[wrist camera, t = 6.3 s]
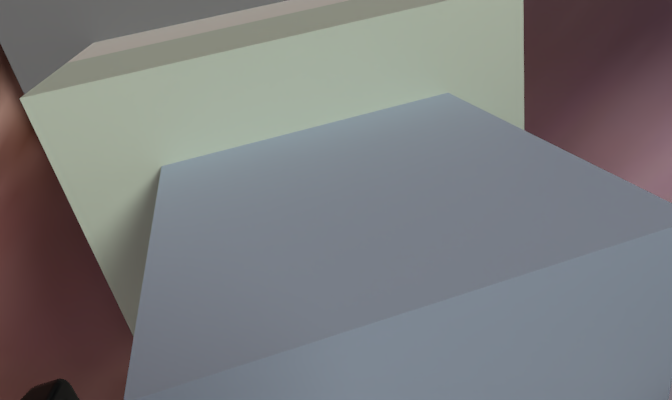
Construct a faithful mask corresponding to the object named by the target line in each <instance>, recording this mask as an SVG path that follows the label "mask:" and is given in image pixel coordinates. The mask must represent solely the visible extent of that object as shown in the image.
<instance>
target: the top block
mask: <svg viewBox="0 0 672 400" xmlns="http://www.w3.org/2000/svg"><path fill="white" fill-rule="evenodd" d="M671 382H672V203H670V202H668V201H666V200H664V199H662V198H660V197H658V196H656V195H654V194H652V193H650V192H648V191H646V190H644V189H642V188H640V187H638V186H636V185H634V184H632V183H630V182H628V181H626V180H624V179H622V178H620V177H618V176H616V175H613V174H611V173H609V172H607V171H605V170H603V169H601V168H599V167H597V166H595V165H593V164H591V163H589V162H587V161H585V160H583V159H581V158H579V157H577V156H575V155H573V154H571V153H569V152H567V151H565V150H563V149H561V148H559V147H557V146H555V145H553V144H551V143H549V142H547V141H545V140H543V139H541V138H539V137H537V136H535V135H533V134H531V133H529V132H527V131H525V130H523V129H521V128H519V127H517V126H514V125H512V124H510V123H508V122H506V121H504V120H502V119H500V118H498V117H496V116H494V115H492V114H490V113H488V112H486V111H484V110H482V109H480V108H478V107H476V106H474V105H472V104H470V103H468V102H466V101H464V100H462V99H460V98H458V97H456V96H454V95H452V94H450V93H445V94H441V95H437V96H433V97H429V98H425V99H421V100H417V101H414V102H410V103H406V104H402V105H398V106H394V107H390V108H386V109H382V110H378V111H375V112H371V113H367V114H363V115H359V116H355V117H351V118H347V119H343V120H339V121H336V122H332V123H328V124H324V125H320V126H316V127H312V128H308V129H304V130H301V131H297V132H293V133H289V134H285V135H281V136H277V137H273V138H269V139H265V140H262V141H258V142H254V143H250V144H246V145H242V146H238V147H234V148H230V149H226V150H223V151H219V152H215V153H211V154H207V155H203V156H199V157H195V158H191V159H187V160H184V161H180V162H176V163H172V164H168V165H164V166H161V173H160V179H159V185H158V191H157V197H156V203H155V209H154V216H153V222H152V228H151V234H150V240H149V246H148V252H147V259H146V265H145V271H144V277H143V283H142V289H141V295H140V302H139V308H138V314H137V320H136V326H135V332H134V338H133V345H132V351H131V357H130V363H129V369H128V375H127V381H126V388H125V394H124V400H668V399H669V393H670V388H671Z"/></svg>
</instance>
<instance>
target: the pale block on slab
mask: <svg viewBox="0 0 672 400" xmlns="http://www.w3.org/2000/svg"><path fill="white" fill-rule="evenodd" d="M0 44H1V46H2V48H3V50H4V52H5V54H6V56H7V59H8V61H9V63H10V65H11V67H12V69H13V71H14V73H15V76H16V78H17V80H18V82H19V84H20V86H21V88H22V90H23V92H24V95H23V96H22V97H21V98H19V99H20V101H21V103H22V105H23V107H24V109H25V111H26V113H27V115H28V117H29V120H30V122H31V124H32V126H33V128H34V130H35V132H36V134H37V136H38V138H39V140H40V143H41V145H42V147H43V149H44V151H45V153H46V155H47V157H48V159H49V161H50V163H51V166H52V168H53V170H54V172H55V174H56V176H57V178H58V180H59V182H60V184H61V186H62V189H63V191H64V193H65V195H66V197H67V199H68V201H69V203H70V205H71V207H72V209H73V211H74V214H75V216H76V218H77V220H78V222H79V224H80V226H81V228H82V230H83V232H84V234H85V237H86V239H87V241H88V243H89V245H90V247H91V249H92V251H93V253H94V255H95V257H96V260H97V262H98V264H99V266H100V268H101V270H102V272H103V274H104V276H105V278H106V280H107V283H108V285H109V287H110V289H111V291H112V293H113V295H114V297H115V299H116V301H117V303H118V306H119V308H120V310H121V312H122V314H123V316H124V318H125V320H126V322H127V324H128V326H129V329H130V331H131V333H132V335H133V337H134V332H135V326H136V320H137V314H138V308H139V302H140V295H141V289H142V283H143V277H144V271H145V265H146V259H147V252H148V246H149V240H150V234H151V228H152V222H153V216H154V209H155V203H156V197H157V191H158V185H159V179H160V173H161V166H164V165H168V164H172V163H176V162H180V161H184V160H187V159H191V158H195V157H199V156H203V155H207V154H211V153H215V152H219V151H223V150H226V149H230V148H234V147H238V146H242V145H246V144H250V143H254V142H258V141H262V140H265V139H269V138H273V137H277V136H281V135H285V134H289V133H293V132H297V131H301V130H304V129H308V128H312V127H316V126H320V125H324V124H328V123H332V122H336V121H339V120H343V119H347V118H351V117H355V116H359V115H363V114H367V113H371V112H375V111H378V110H382V109H386V108H390V107H394V106H398V105H402V104H406V103H410V102H414V101H417V100H421V99H425V98H429V97H433V96H437V95H441V94H445V93H450V94H452V95H454V96H456V97H458V98H460V99H462V100H464V101H466V102H468V103H470V104H472V105H474V106H476V107H478V108H480V109H482V110H484V111H486V112H488V113H490V114H492V115H494V116H496V117H498V118H500V119H502V120H504V121H506V122H508V123H510V124H512V125H514V126H517V127H519V128H521V129H523V130H524V12H523V0H0Z"/></svg>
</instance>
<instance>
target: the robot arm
mask: <svg viewBox="0 0 672 400" xmlns="http://www.w3.org/2000/svg"><path fill="white" fill-rule="evenodd" d="M21 400H79V398H78V397H77V395H76V393H75V391H74V390H73V388H72V386H71V385H70V384H69V382H68V381H66V380H64V379H57V380H53V381H50V382H47V383H44V384H40V385H37V386H35V387H33V388H32V389H31V390H29V391H28V392H27V393H26V395H25V396H24V397H23V398H22V399H21Z"/></svg>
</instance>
